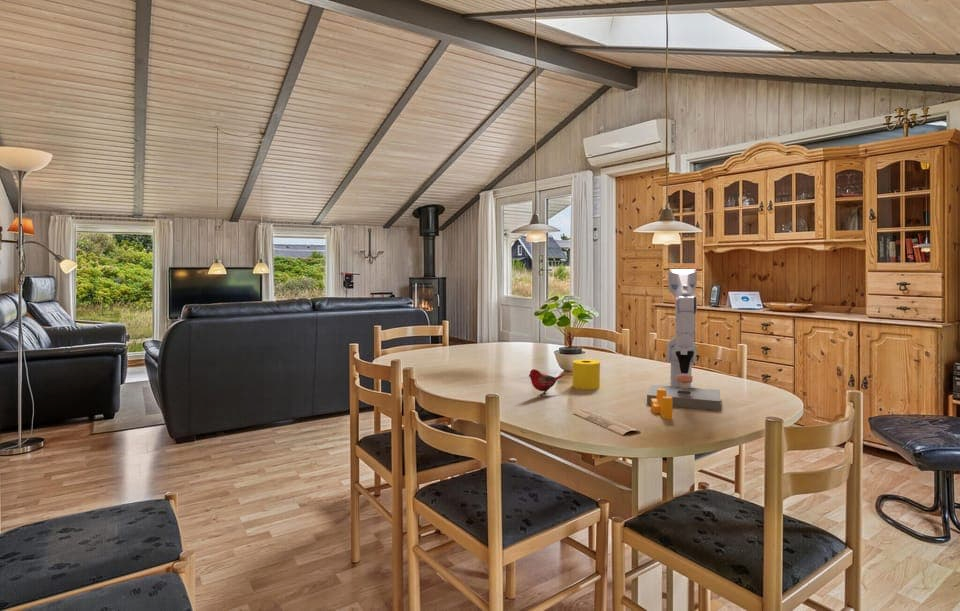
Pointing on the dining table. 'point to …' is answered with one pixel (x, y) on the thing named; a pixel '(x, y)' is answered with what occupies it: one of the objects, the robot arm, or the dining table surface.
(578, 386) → the yellow toilet paper roll
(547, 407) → the dining table surface
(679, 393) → the plate
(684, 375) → the knob
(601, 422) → the newspaper
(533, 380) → the decorative bird figurine
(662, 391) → the pipe clamp
